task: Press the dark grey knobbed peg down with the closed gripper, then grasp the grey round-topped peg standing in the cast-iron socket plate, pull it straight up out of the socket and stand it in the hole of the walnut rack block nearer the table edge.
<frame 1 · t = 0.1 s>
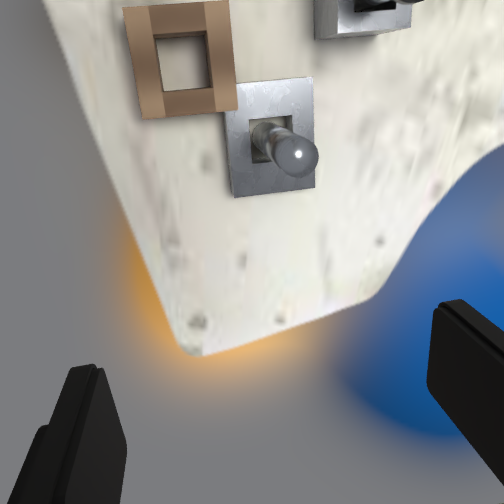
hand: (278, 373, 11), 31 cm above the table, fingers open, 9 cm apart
rack block: (183, 63, 36), on the table
grey round-topped peg: (280, 145, 34), in the socket plate
socket plate: (266, 136, 39), on the table
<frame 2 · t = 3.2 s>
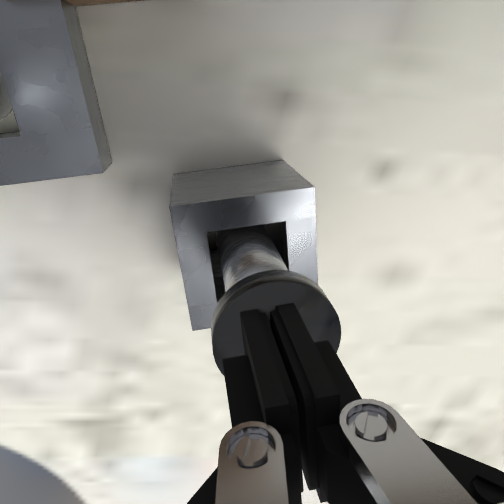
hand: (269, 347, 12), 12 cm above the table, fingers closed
dark grey knobbed peg: (255, 276, 16), point 7 cm above the table, slide at 0.1 cm, touching gripper
key housing: (235, 219, 23), on the table
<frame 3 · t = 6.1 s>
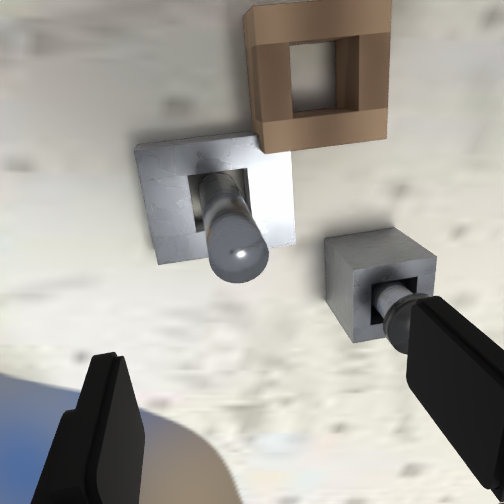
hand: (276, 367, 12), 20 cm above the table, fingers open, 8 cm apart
rack block: (306, 78, 28), on the table
dark grey knobbed peg: (387, 294, 30), point 5 cm above the table, slide at 2.5 cm
grey round-topped peg: (226, 216, 24), in the socket plate
key housing: (359, 265, 34), on the table
socket plate: (218, 191, 30), on the table
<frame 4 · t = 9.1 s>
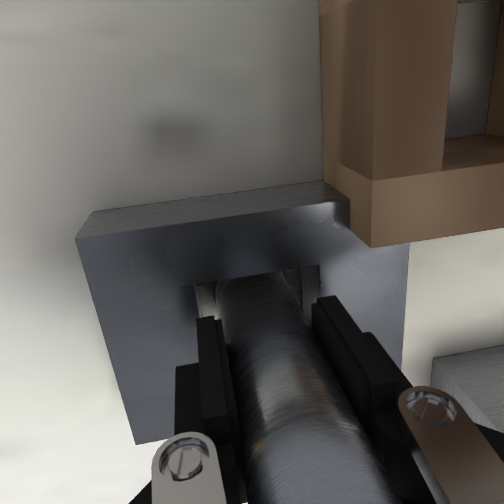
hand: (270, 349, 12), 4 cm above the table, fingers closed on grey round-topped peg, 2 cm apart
rack block: (436, 76, 14), on the table
grey round-topped peg: (288, 404, 10), in the socket plate, touching gripper
key housing: (484, 396, 20), on the table
socket plate: (251, 291, 16), on the table
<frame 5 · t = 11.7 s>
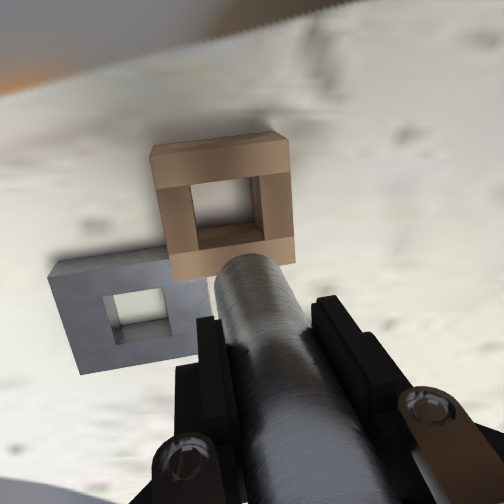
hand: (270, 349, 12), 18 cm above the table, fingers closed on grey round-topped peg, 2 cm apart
rack block: (222, 196, 28), on the table
grey round-topped peg: (284, 390, 11), point 19 cm above the table, touching gripper
socket plate: (142, 299, 30), on the table
when the fingers open (5 cm above the table, at t = 14.5 s): grey round-topped peg stays where it is, resting in rack block.
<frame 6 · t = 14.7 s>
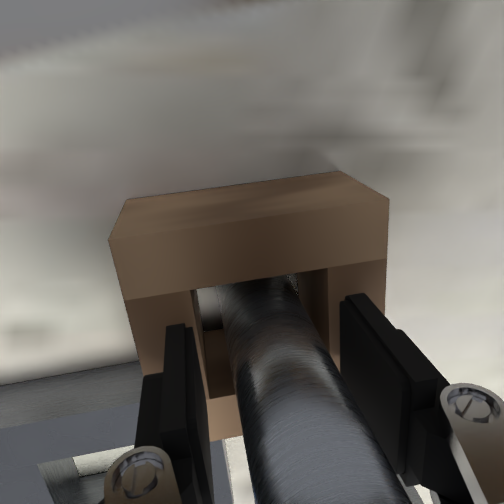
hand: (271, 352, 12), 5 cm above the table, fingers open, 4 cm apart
rack block: (247, 280, 17), on the table
grey round-topped peg: (284, 377, 11), in the rack block
socket plate: (112, 438, 19), on the table
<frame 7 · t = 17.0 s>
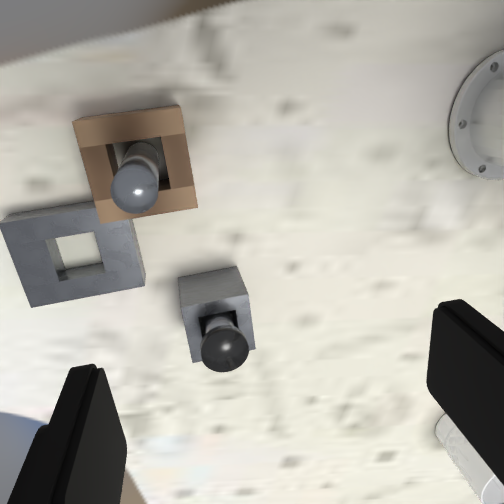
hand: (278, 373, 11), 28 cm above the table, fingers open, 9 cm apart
rack block: (141, 158, 36), on the table
dark grey knobbed peg: (218, 323, 38), point 5 cm above the table, slide at 2.5 cm
grey round-topped peg: (139, 172, 30), in the rack block
key housing: (212, 297, 42), on the table
socket plate: (81, 246, 37), on the table
white cup: (455, 422, 58), on the table
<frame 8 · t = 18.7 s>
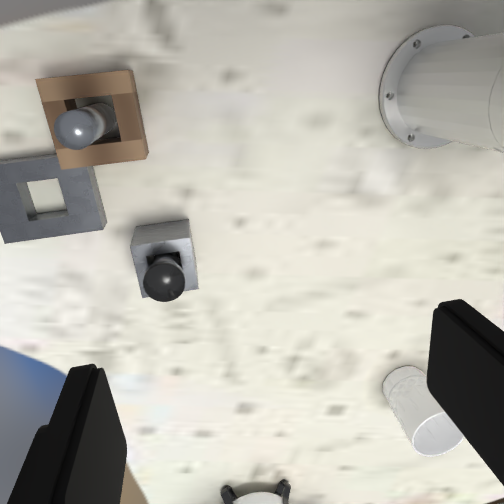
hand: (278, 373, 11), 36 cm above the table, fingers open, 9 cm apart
rack block: (101, 117, 41), on the table
dark grey knobbed peg: (165, 264, 43), point 5 cm above the table, slide at 2.5 cm
grey round-topped peg: (90, 123, 36), in the rack block
key housing: (167, 246, 48), on the table
socket plate: (50, 193, 43), on the table
white cup: (401, 382, 63), on the table
coffee press: (260, 501, 68), on the table
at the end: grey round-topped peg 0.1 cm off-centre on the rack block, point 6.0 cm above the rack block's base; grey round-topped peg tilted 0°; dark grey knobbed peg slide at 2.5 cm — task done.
